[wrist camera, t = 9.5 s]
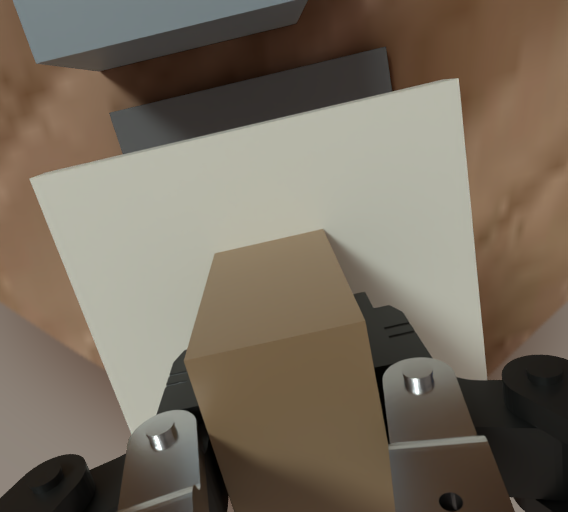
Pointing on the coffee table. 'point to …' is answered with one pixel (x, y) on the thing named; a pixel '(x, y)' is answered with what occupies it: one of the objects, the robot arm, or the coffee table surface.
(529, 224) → the coffee table surface
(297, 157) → the lid
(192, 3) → the storage box
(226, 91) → the rubber mat
